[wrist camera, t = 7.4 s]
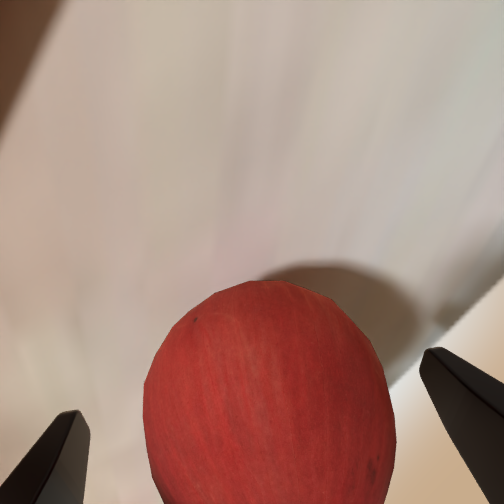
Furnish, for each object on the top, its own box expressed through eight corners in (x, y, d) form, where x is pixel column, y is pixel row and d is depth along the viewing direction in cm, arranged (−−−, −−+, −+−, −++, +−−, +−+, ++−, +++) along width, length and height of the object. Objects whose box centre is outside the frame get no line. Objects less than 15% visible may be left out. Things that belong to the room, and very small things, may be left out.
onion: (337, 333, 13) (499, 641, 6) (196, 381, 13) (207, 735, 6) (307, 201, 10) (566, 532, 3) (123, 266, 10) (-8, 721, 3)
